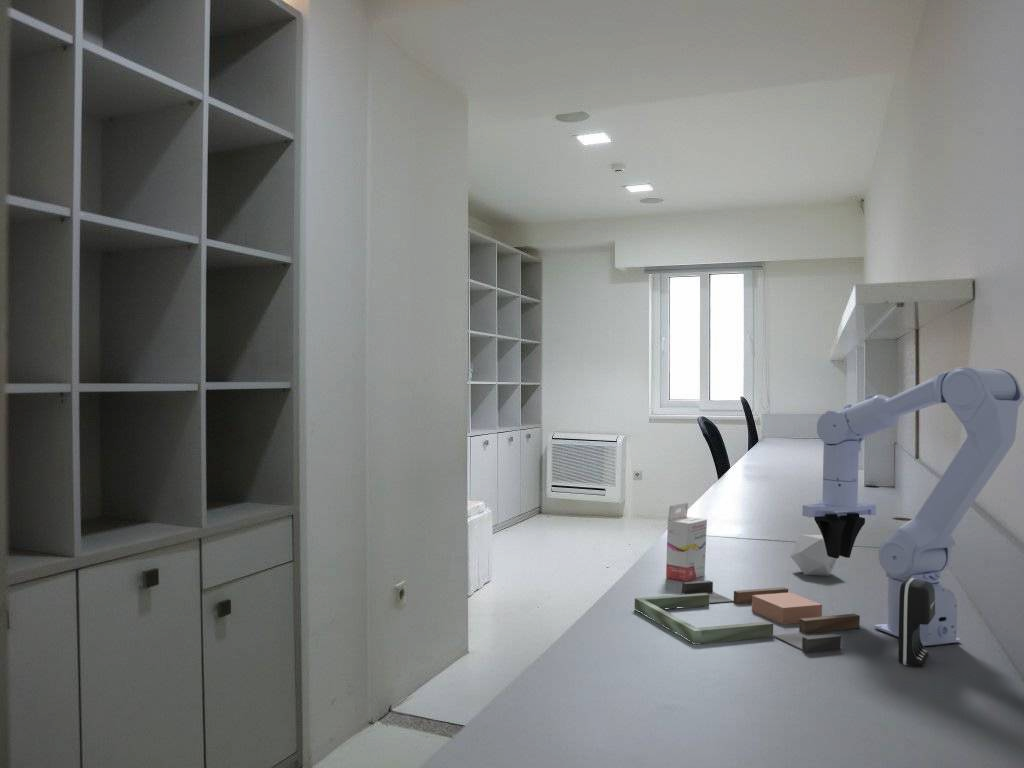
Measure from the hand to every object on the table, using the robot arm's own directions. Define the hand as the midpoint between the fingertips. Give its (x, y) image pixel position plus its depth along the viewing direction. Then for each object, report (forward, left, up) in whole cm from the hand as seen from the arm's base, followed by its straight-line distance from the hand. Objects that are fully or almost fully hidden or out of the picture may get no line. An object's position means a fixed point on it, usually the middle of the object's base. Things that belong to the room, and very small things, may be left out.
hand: (838, 556), depth 133 cm
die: (+24, -16, -10) cm, 30 cm away
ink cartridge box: (+28, +13, -10) cm, 32 cm away
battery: (-24, +8, -10) cm, 27 cm away
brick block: (0, +11, -10) cm, 15 cm away
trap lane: (0, +20, -9) cm, 22 cm away
